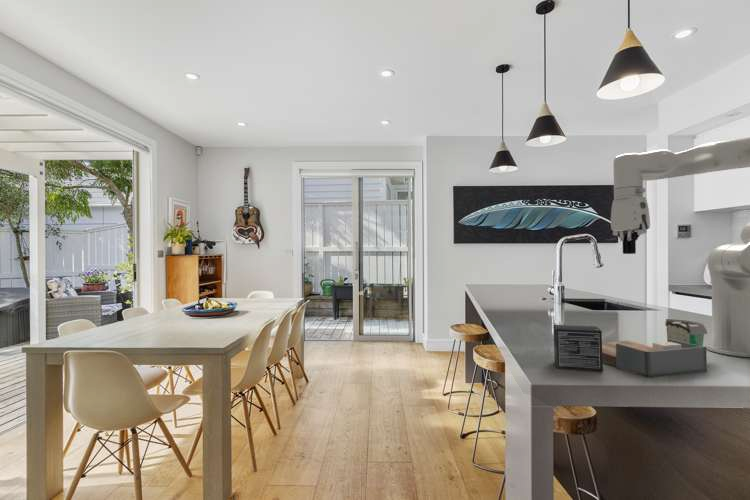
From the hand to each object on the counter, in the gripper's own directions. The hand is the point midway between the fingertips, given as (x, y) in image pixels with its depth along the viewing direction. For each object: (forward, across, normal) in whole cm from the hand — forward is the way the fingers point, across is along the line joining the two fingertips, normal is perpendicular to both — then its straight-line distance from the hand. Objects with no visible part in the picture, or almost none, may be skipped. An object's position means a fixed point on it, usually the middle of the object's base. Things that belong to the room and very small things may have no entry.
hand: (629, 253), depth 115 cm
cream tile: (+26, -17, +8) cm, 32 cm away
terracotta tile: (+27, -16, +15) cm, 35 cm away
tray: (+29, -19, +11) cm, 36 cm away
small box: (+29, -12, +30) cm, 43 cm away
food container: (+29, -14, -5) cm, 33 cm away
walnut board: (+29, -8, +11) cm, 32 cm away
